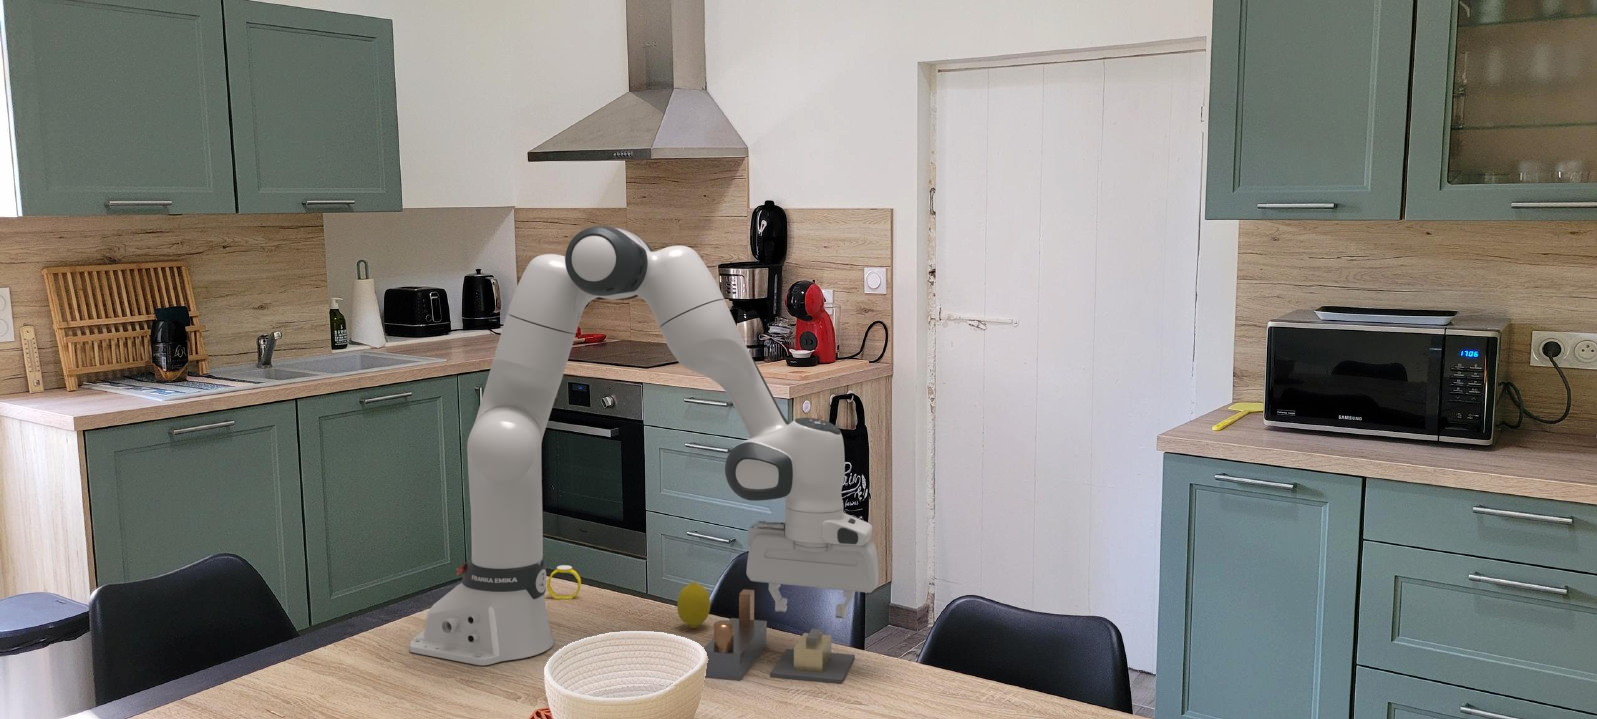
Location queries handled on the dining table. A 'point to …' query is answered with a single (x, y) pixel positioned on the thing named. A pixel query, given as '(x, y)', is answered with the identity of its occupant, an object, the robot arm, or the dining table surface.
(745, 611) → the plane body
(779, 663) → the rubber mat
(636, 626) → the dining table surface
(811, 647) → the lever cap
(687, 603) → the lemon
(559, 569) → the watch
